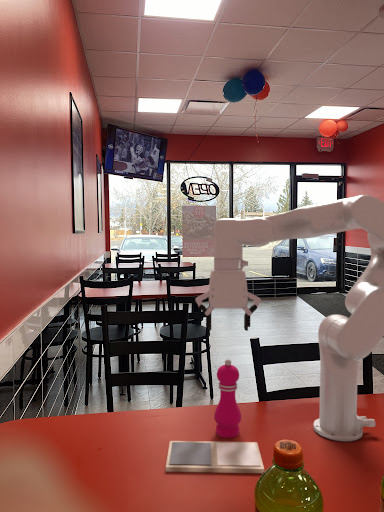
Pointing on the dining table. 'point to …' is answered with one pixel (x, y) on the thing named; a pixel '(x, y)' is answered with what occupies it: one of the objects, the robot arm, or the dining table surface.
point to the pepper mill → (227, 402)
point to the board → (214, 457)
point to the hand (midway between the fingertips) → (227, 329)
